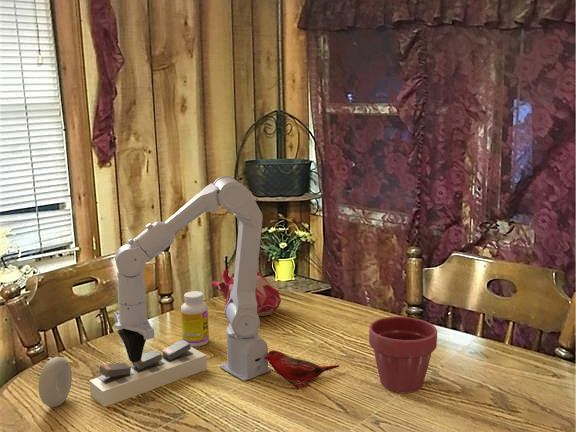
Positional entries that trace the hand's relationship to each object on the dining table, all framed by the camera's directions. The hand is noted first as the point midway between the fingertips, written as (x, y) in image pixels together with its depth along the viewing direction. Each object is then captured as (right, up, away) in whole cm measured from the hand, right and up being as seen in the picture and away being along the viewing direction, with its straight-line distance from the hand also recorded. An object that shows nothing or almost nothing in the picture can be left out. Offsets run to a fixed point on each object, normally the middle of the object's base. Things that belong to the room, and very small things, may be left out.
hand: (135, 360), depth 135 cm
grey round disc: (-14, -8, -7) cm, 18 cm away
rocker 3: (+8, +1, +7) cm, 10 cm away
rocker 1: (-3, -1, -3) cm, 5 cm away
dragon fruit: (+21, +3, +41) cm, 46 cm away
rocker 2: (+2, 0, +2) cm, 3 cm away
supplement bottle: (+10, -1, +23) cm, 25 cm away
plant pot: (+58, -5, 0) cm, 58 cm away
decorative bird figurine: (+38, -5, -2) cm, 38 cm away
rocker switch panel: (+3, -5, +2) cm, 6 cm away
